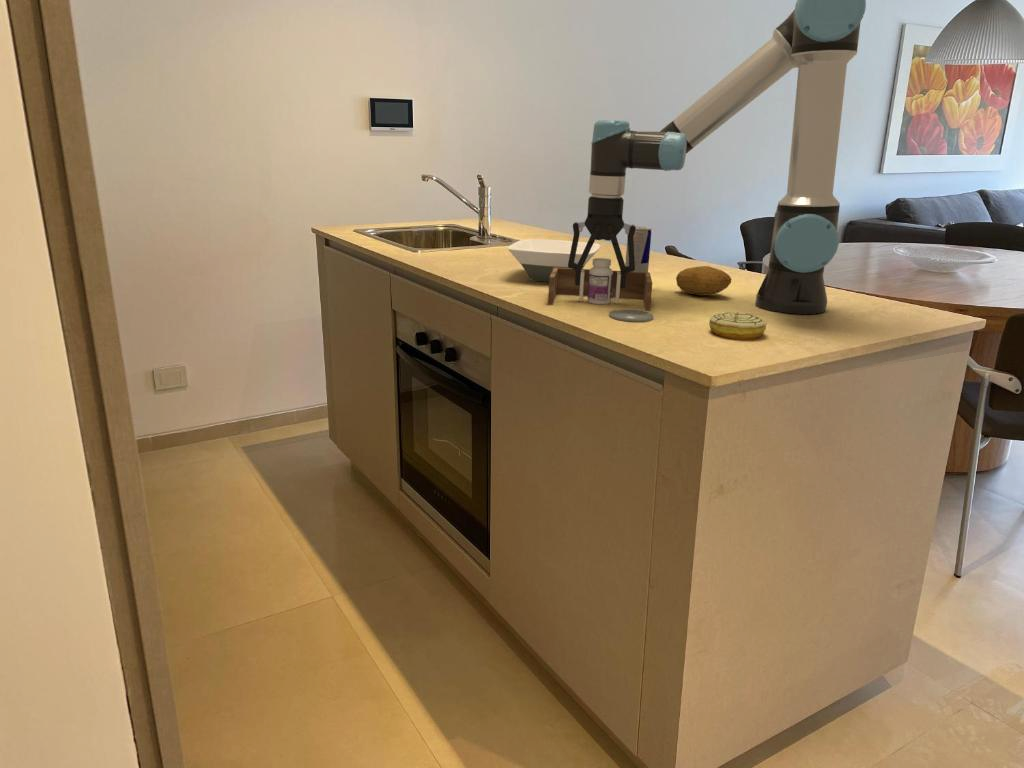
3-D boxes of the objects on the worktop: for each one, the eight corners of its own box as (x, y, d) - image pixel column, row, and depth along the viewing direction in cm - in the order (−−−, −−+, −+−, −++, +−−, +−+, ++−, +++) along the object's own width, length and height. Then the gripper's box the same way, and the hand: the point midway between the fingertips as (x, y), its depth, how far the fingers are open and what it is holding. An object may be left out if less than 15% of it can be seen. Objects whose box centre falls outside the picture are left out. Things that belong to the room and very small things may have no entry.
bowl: (501, 283, 190) (502, 249, 188) (522, 268, 212) (523, 237, 209) (589, 290, 186) (591, 255, 183) (601, 274, 207) (604, 243, 204)
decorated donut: (766, 332, 152) (769, 313, 151) (762, 344, 142) (765, 324, 141) (712, 325, 155) (714, 307, 154) (705, 337, 146) (707, 317, 144)
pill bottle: (595, 298, 176) (598, 256, 173) (615, 302, 173) (618, 259, 170) (582, 302, 172) (585, 258, 169) (602, 305, 169) (605, 262, 166)
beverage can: (646, 291, 186) (651, 228, 181) (622, 290, 187) (627, 227, 182) (646, 287, 191) (652, 226, 186) (624, 286, 192) (628, 225, 187)
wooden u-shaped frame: (552, 292, 181) (553, 267, 179) (647, 298, 178) (649, 272, 176) (547, 304, 168) (549, 277, 166) (649, 310, 165) (652, 283, 164)
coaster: (662, 318, 159) (662, 315, 159) (634, 324, 153) (634, 321, 153) (628, 310, 165) (628, 307, 165) (600, 315, 159) (600, 312, 159)
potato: (691, 288, 192) (694, 261, 190) (736, 297, 183) (739, 268, 180) (668, 292, 186) (671, 264, 184) (713, 302, 177) (716, 272, 175)
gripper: (653, 196, 168) (643, 300, 175) (560, 192, 170) (555, 295, 177) (654, 199, 160) (645, 307, 168) (558, 195, 163) (552, 301, 170)
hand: (598, 300), depth 172 cm, fingers open, 7 cm apart
